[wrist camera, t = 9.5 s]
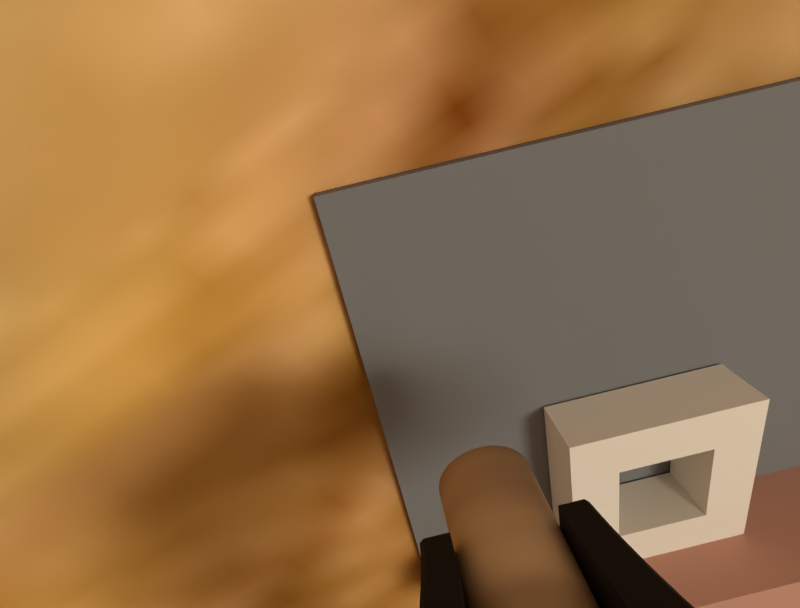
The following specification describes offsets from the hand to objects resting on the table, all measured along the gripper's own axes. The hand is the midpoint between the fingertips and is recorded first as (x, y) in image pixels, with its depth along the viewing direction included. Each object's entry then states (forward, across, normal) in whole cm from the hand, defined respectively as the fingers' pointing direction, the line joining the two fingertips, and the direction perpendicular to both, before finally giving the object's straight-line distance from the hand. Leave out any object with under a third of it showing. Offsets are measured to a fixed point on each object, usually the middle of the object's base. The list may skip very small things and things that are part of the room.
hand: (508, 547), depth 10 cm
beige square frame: (+8, -8, +8) cm, 14 cm away
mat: (+9, -8, +5) cm, 13 cm away
